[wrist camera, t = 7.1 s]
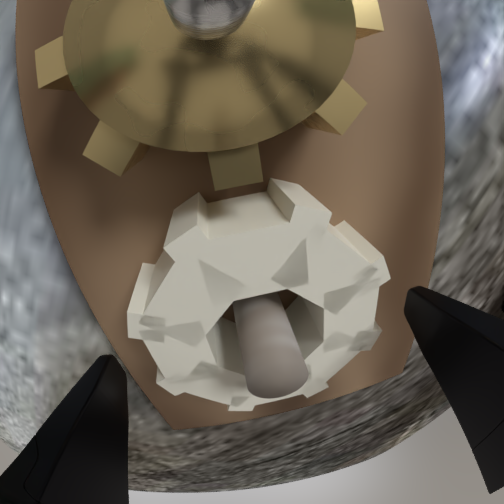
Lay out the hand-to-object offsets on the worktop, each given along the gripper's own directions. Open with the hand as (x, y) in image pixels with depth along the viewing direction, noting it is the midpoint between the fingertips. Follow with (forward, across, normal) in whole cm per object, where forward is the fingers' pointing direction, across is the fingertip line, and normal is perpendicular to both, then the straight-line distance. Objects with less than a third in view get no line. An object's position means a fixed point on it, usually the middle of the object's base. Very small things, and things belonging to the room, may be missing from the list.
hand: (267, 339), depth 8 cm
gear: (+2, 0, -8) cm, 8 cm away
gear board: (+4, -1, -2) cm, 5 cm away
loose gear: (+2, 0, 0) cm, 2 cm away
